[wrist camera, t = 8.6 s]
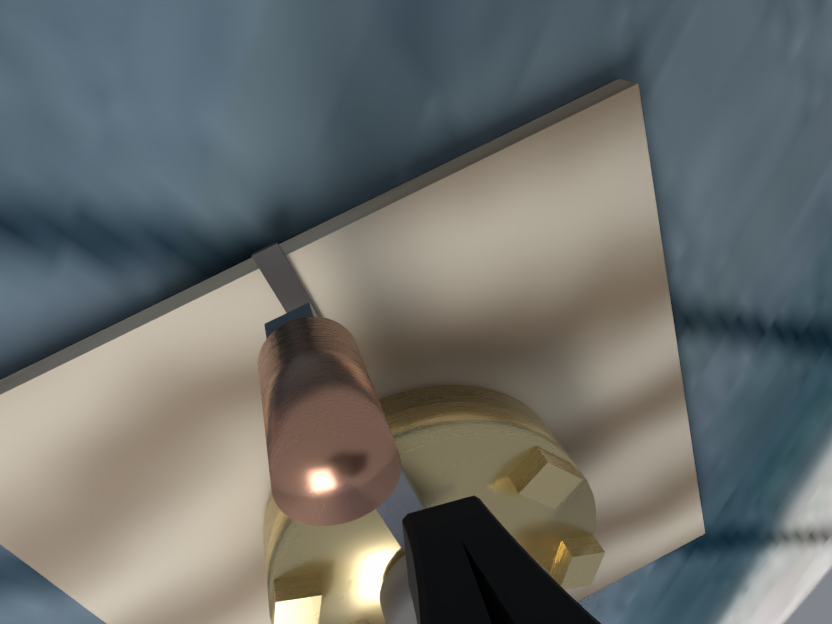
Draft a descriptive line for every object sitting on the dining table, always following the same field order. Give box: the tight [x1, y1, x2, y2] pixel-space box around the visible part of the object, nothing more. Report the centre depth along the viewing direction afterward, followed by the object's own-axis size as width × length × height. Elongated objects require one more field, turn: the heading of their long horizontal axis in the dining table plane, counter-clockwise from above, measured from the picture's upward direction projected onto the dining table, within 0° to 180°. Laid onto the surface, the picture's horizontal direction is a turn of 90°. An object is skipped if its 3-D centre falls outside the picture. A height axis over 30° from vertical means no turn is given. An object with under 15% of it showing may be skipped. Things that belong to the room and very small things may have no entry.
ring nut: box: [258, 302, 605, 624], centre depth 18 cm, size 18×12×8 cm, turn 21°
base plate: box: [0, 79, 705, 624], centre depth 22 cm, size 24×24×6 cm
